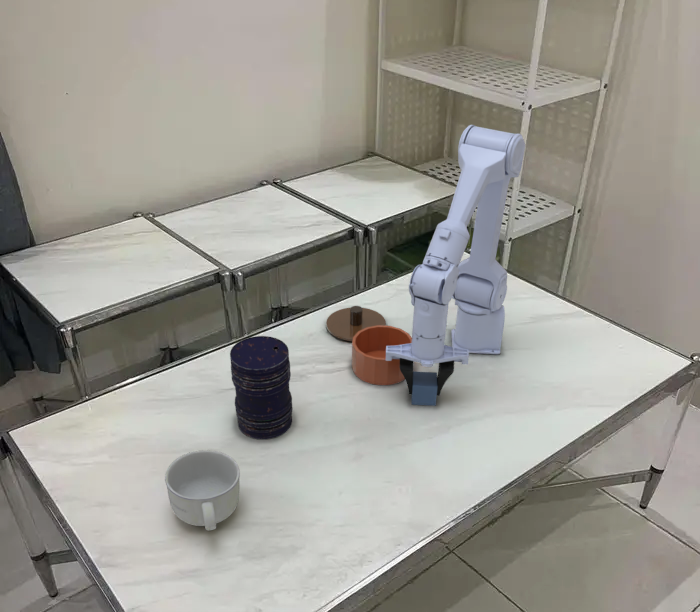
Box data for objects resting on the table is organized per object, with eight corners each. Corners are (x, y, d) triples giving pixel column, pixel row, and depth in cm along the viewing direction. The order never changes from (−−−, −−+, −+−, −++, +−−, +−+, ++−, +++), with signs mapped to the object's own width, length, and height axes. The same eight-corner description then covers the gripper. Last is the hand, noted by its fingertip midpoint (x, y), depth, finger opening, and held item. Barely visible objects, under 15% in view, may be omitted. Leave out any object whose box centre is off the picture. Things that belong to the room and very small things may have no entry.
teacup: (176, 486, 115) (169, 449, 110) (245, 482, 116) (240, 445, 111) (166, 555, 104) (157, 518, 99) (241, 551, 105) (236, 513, 100)
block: (435, 391, 135) (436, 372, 132) (435, 405, 132) (437, 386, 129) (411, 390, 135) (413, 371, 133) (411, 404, 132) (412, 385, 129)
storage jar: (247, 446, 123) (239, 376, 113) (229, 412, 130) (221, 344, 121) (301, 430, 126) (298, 360, 117) (281, 398, 133) (277, 330, 124)
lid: (386, 312, 157) (387, 294, 154) (384, 345, 147) (385, 326, 144) (329, 310, 158) (329, 292, 155) (323, 342, 148) (323, 323, 145)
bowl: (411, 351, 145) (413, 326, 142) (411, 386, 136) (413, 360, 132) (354, 349, 146) (354, 324, 142) (350, 383, 137) (350, 357, 133)
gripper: (386, 340, 121) (383, 403, 130) (472, 344, 121) (464, 407, 129) (387, 318, 127) (384, 379, 135) (470, 322, 126) (462, 383, 135)
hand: (423, 391), depth 133 cm, fingers closed on block, 4 cm apart
